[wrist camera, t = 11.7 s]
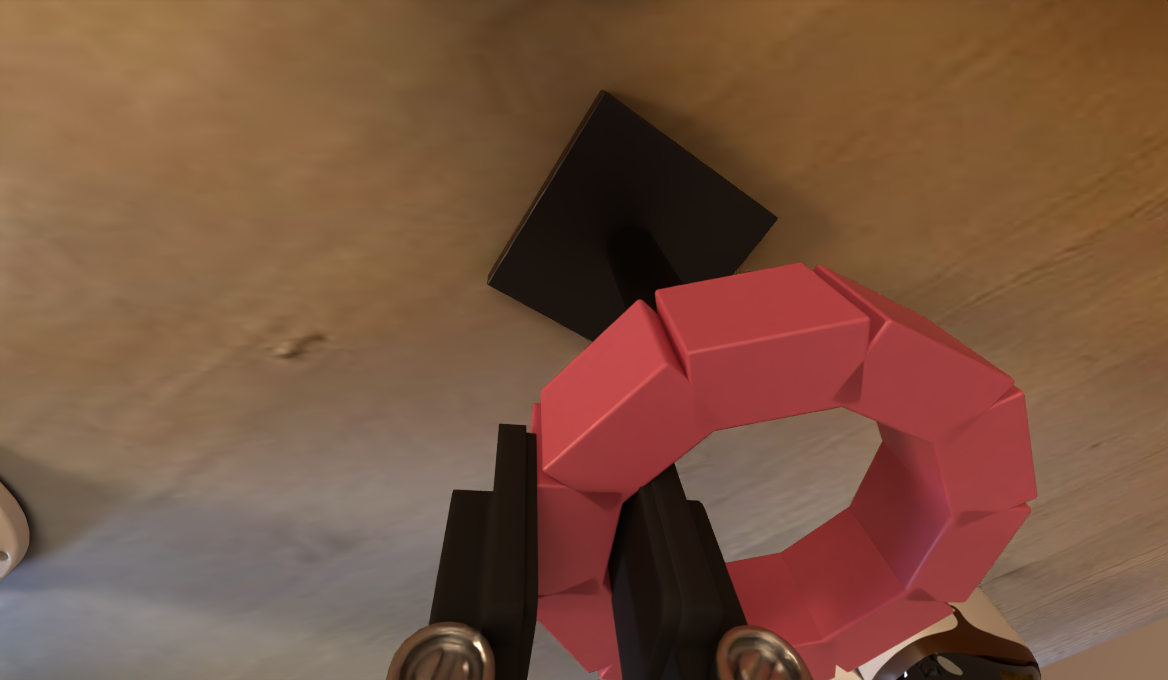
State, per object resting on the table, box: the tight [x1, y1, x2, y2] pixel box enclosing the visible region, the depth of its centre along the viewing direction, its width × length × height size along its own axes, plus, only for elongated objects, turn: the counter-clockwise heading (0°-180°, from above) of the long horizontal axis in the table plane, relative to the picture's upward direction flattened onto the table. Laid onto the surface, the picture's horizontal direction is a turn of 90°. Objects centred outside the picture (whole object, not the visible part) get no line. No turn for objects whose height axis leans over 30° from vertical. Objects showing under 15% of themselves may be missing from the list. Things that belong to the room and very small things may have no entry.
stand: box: [487, 90, 778, 341], centre depth 21 cm, size 10×10×13 cm
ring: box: [530, 263, 1037, 680], centre depth 11 cm, size 10×10×2 cm
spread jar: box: [831, 587, 1041, 680], centre depth 36 cm, size 12×11×12 cm
